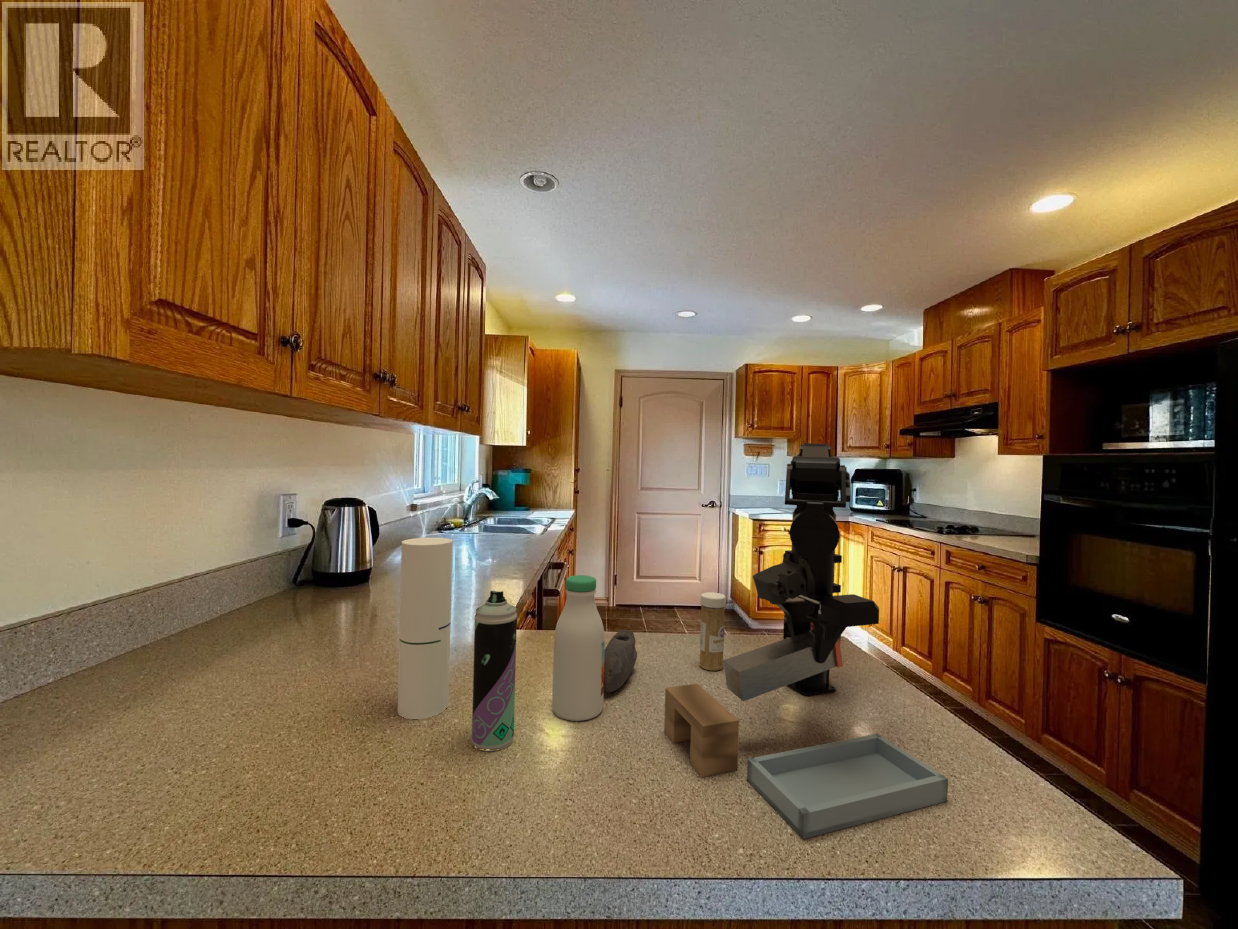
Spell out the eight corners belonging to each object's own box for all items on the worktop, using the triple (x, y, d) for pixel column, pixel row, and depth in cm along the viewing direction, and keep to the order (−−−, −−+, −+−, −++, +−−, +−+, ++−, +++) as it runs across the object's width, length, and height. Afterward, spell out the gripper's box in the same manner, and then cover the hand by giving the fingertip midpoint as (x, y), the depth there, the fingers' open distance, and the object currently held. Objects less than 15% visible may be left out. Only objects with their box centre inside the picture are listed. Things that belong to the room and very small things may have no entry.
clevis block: (696, 726, 74) (697, 683, 74) (737, 770, 63) (738, 720, 63) (664, 732, 72) (665, 687, 72) (701, 777, 62) (702, 726, 62)
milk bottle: (596, 725, 73) (599, 585, 73) (544, 719, 75) (548, 581, 74) (608, 701, 81) (611, 574, 80) (561, 695, 82) (564, 570, 82)
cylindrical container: (458, 703, 79) (462, 540, 78) (422, 724, 72) (427, 546, 72) (423, 692, 82) (427, 536, 81) (386, 712, 75) (390, 542, 75)
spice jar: (720, 673, 92) (722, 599, 92) (696, 668, 94) (698, 595, 94) (725, 664, 97) (728, 593, 96) (702, 660, 98) (704, 590, 98)
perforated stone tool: (620, 703, 80) (621, 659, 80) (588, 698, 82) (589, 655, 82) (640, 666, 95) (641, 629, 95) (613, 663, 96) (614, 626, 96)
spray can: (476, 755, 65) (480, 598, 65) (467, 734, 70) (471, 588, 70) (518, 745, 67) (522, 594, 67) (507, 726, 72) (511, 584, 72)
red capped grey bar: (818, 653, 75) (814, 622, 75) (842, 666, 71) (838, 632, 71) (725, 687, 70) (720, 653, 70) (745, 703, 66) (739, 667, 66)
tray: (876, 753, 68) (877, 733, 68) (947, 801, 59) (948, 778, 59) (747, 780, 61) (747, 758, 61) (803, 839, 52) (803, 814, 52)
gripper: (727, 537, 78) (724, 639, 78) (810, 560, 60) (806, 693, 61) (789, 535, 82) (786, 633, 82) (884, 557, 64) (880, 682, 64)
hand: (809, 656), depth 72 cm, fingers closed on red capped grey bar, 4 cm apart
